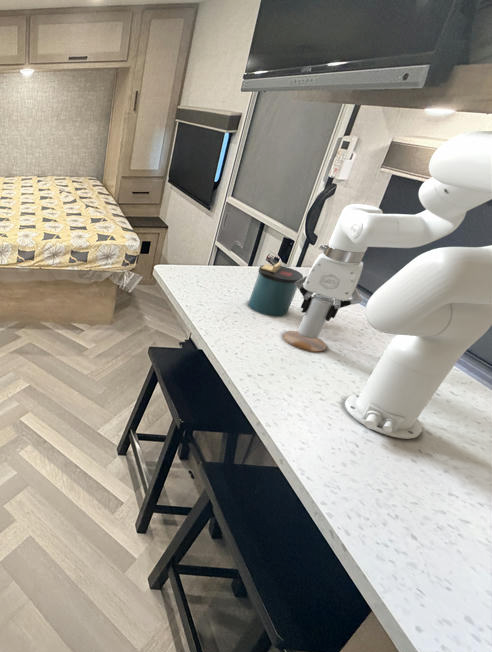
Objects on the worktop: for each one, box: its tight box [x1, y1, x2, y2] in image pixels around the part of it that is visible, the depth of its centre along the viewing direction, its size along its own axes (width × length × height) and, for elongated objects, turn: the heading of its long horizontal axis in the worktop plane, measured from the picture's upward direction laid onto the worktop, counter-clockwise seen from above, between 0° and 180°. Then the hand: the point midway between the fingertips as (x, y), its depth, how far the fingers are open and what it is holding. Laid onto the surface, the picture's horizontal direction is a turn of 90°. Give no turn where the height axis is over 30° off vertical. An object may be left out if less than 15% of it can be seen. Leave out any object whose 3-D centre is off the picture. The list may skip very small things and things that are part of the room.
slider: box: [260, 262, 282, 273], centre depth 127 cm, size 4×4×2 cm
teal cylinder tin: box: [247, 264, 304, 318], centre depth 128 cm, size 12×12×13 cm
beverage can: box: [297, 293, 335, 339], centre depth 110 cm, size 5×5×12 cm
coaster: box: [283, 330, 327, 353], centre depth 114 cm, size 10×10×1 cm
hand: (316, 314), depth 110 cm, fingers closed on beverage can, 4 cm apart
